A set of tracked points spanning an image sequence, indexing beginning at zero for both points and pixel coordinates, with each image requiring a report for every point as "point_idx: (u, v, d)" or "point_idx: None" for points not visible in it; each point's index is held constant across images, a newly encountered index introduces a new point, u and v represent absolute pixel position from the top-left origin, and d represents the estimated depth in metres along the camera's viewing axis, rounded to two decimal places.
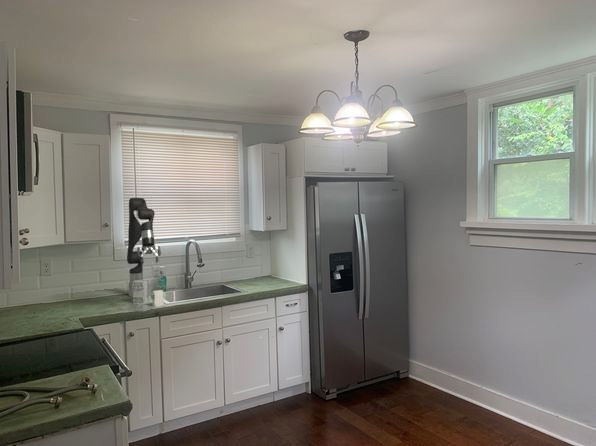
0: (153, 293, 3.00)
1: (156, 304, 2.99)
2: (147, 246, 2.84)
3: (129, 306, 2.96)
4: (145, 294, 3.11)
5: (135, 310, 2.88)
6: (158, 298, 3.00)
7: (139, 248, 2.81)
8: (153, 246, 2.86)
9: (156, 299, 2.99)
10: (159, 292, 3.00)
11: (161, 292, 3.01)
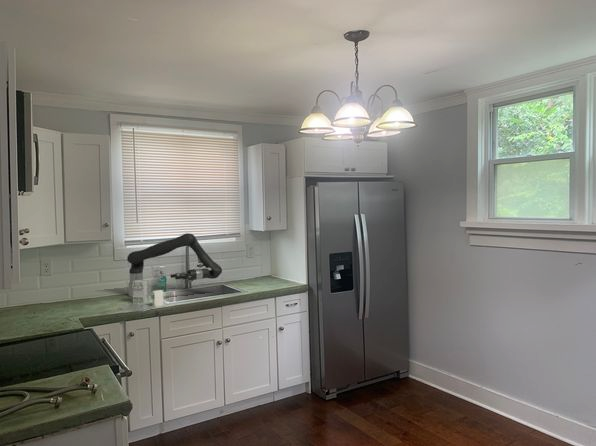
0: (153, 293, 3.00)
1: (156, 304, 2.99)
2: None
3: (129, 306, 2.96)
4: (145, 294, 3.11)
5: (135, 310, 2.88)
6: (158, 298, 3.00)
7: None
8: None
9: (156, 299, 2.99)
10: (159, 292, 3.00)
11: (161, 292, 3.01)
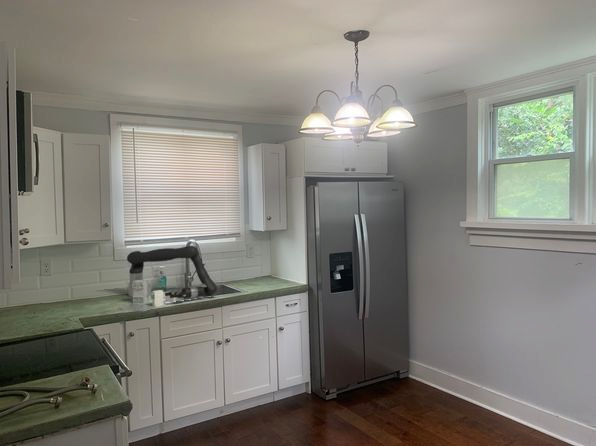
0: (153, 293, 3.00)
1: (156, 304, 2.99)
2: None
3: (129, 306, 2.96)
4: (145, 294, 3.11)
5: (135, 310, 2.88)
6: (158, 298, 3.00)
7: (184, 296, 3.07)
8: None
9: (156, 299, 2.99)
10: (159, 292, 3.00)
11: (161, 292, 3.01)
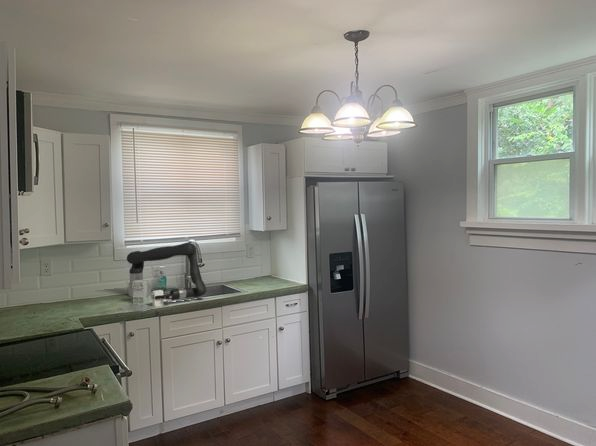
0: (153, 293, 3.00)
1: (156, 304, 2.99)
2: None
3: (129, 306, 2.96)
4: (145, 294, 3.11)
5: (135, 310, 2.88)
6: None
7: (170, 298, 3.01)
8: None
9: (156, 299, 2.99)
10: (159, 292, 3.00)
11: (161, 292, 3.01)
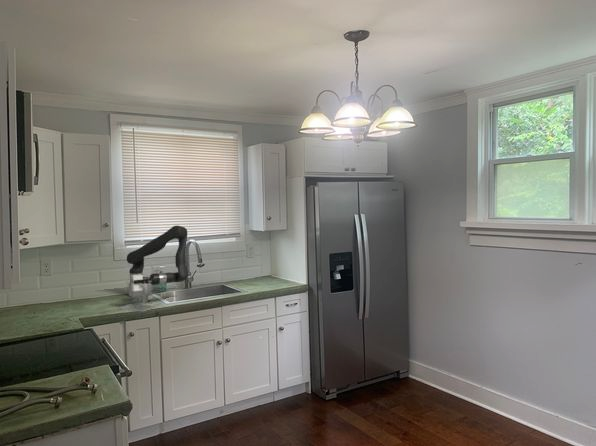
0: (132, 277, 2.92)
1: (135, 289, 2.92)
2: None
3: (129, 306, 2.96)
4: (145, 294, 3.11)
5: (135, 310, 2.88)
6: None
7: None
8: None
9: None
10: (138, 276, 2.92)
11: (140, 276, 2.93)
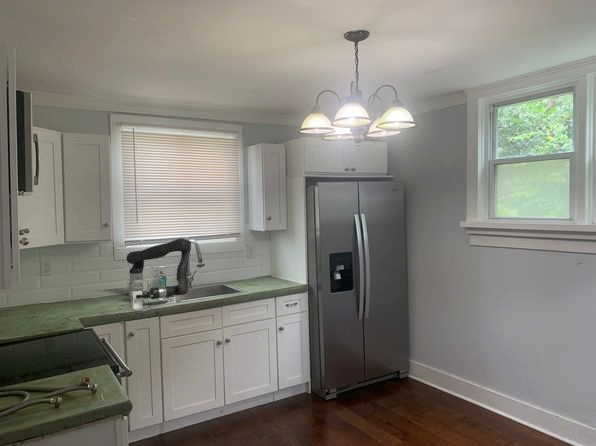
0: (132, 294, 2.92)
1: (135, 305, 2.92)
2: None
3: (129, 306, 2.96)
4: None
5: (135, 310, 2.88)
6: (137, 299, 2.93)
7: None
8: None
9: (135, 300, 2.92)
10: (138, 293, 2.93)
11: (140, 293, 2.94)
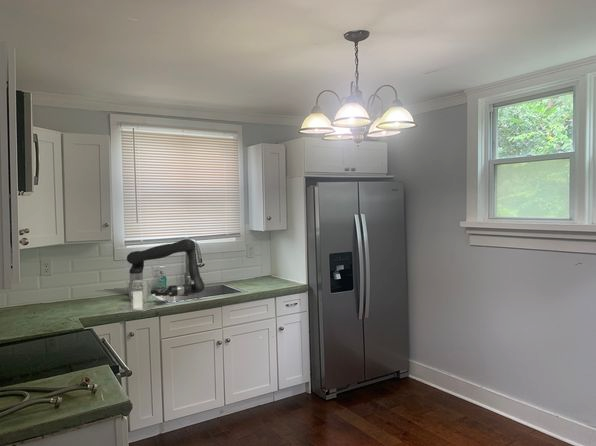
0: (132, 294, 2.92)
1: (135, 305, 2.92)
2: None
3: (129, 306, 2.96)
4: (145, 294, 3.11)
5: (135, 310, 2.88)
6: (137, 299, 2.93)
7: (170, 294, 3.02)
8: None
9: (135, 300, 2.92)
10: (138, 293, 2.93)
11: (140, 293, 2.94)
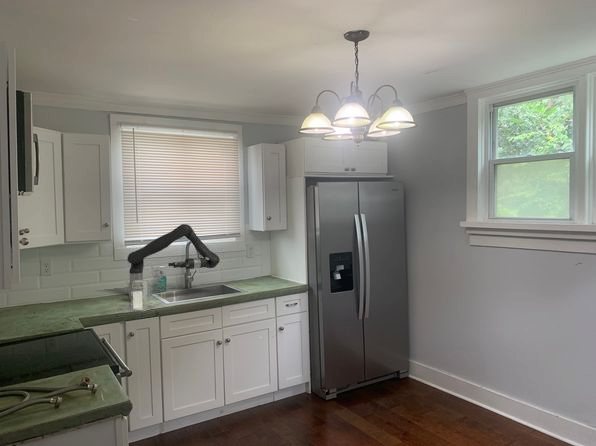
0: (132, 294, 2.92)
1: (135, 305, 2.92)
2: None
3: (129, 306, 2.96)
4: (145, 294, 3.11)
5: (135, 310, 2.88)
6: (137, 299, 2.93)
7: (187, 266, 3.11)
8: None
9: (135, 300, 2.92)
10: (138, 293, 2.93)
11: (140, 293, 2.94)
